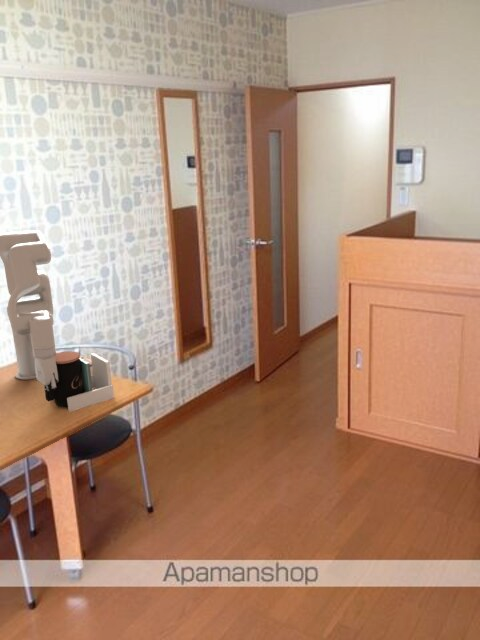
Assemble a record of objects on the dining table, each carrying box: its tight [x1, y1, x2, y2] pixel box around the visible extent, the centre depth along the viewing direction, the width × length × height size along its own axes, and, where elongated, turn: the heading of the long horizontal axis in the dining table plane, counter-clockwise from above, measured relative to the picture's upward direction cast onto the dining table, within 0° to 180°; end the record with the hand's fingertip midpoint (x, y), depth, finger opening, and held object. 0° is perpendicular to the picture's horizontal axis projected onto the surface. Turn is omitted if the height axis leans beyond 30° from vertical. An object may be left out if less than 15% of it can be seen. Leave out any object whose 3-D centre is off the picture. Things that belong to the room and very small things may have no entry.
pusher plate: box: [79, 358, 93, 393], centre depth 220 cm, size 12×1×15 cm, turn 39°
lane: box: [67, 352, 115, 413], centre depth 220 cm, size 15×17×14 cm
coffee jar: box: [54, 350, 84, 409], centre depth 216 cm, size 11×11×18 cm
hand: (51, 399), depth 214 cm, fingers closed
